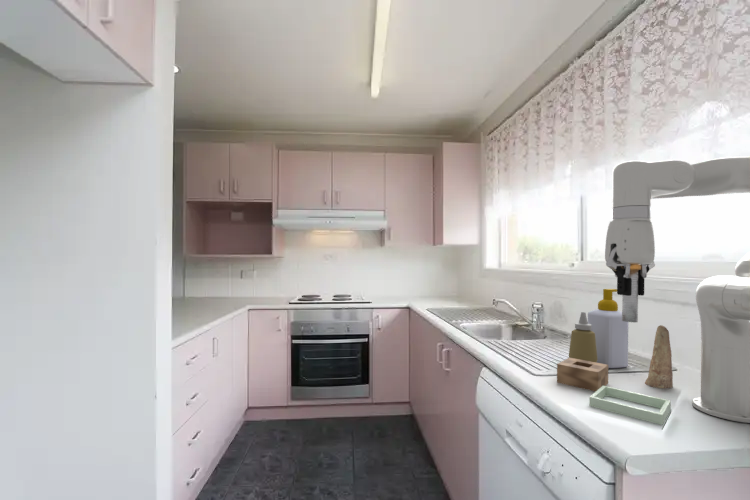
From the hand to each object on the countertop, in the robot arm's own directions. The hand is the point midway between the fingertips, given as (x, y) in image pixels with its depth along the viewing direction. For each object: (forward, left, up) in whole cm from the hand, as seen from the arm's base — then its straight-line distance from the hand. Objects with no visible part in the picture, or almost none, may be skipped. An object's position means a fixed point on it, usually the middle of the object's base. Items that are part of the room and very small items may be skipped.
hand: (630, 294), depth 87 cm
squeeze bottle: (+18, -29, -27) cm, 44 cm away
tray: (0, 0, -27) cm, 27 cm away
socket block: (+13, -11, -27) cm, 32 cm away
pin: (0, 0, -6) cm, 6 cm away
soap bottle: (+14, -41, -27) cm, 51 cm away
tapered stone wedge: (-2, -25, -27) cm, 37 cm away
